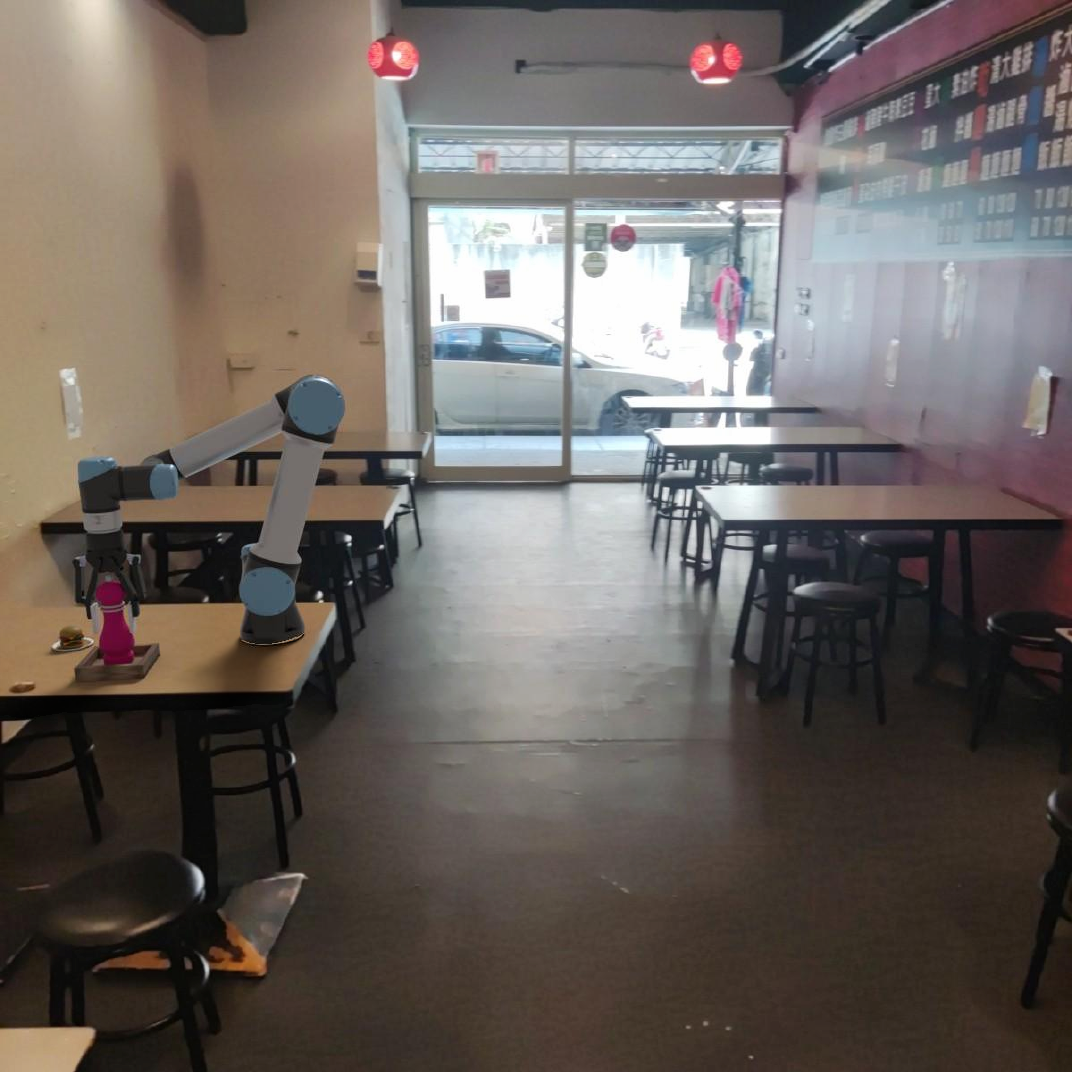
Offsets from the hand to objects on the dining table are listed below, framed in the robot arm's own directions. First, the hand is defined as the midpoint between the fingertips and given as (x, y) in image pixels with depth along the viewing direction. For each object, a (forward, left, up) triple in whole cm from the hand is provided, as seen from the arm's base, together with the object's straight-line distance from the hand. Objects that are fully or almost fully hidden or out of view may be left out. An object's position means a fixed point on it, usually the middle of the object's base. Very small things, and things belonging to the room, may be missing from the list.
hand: (115, 631), depth 209 cm
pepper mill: (0, 0, -7) cm, 7 cm away
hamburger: (+15, -17, -9) cm, 25 cm away
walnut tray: (0, 0, -9) cm, 9 cm away
